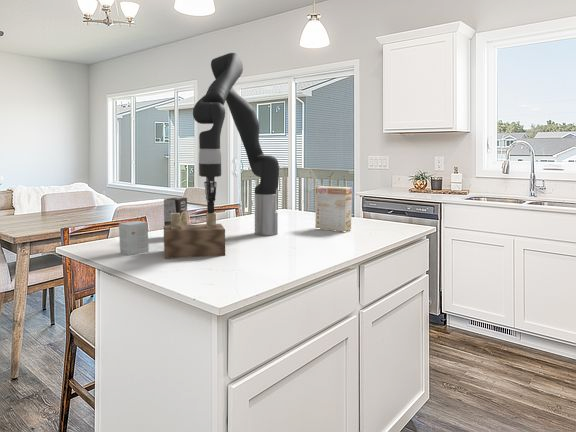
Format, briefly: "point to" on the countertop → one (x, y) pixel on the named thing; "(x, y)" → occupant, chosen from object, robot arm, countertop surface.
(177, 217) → the pin
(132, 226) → the small box
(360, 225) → the countertop surface
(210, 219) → the pin
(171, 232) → the walnut block
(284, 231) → the countertop surface
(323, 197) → the coffeecake box
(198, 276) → the countertop surface
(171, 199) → the coffee box
